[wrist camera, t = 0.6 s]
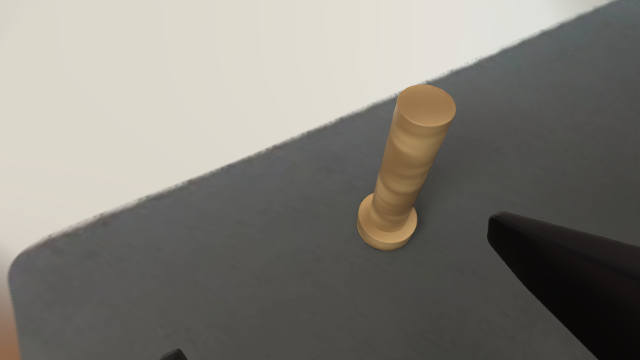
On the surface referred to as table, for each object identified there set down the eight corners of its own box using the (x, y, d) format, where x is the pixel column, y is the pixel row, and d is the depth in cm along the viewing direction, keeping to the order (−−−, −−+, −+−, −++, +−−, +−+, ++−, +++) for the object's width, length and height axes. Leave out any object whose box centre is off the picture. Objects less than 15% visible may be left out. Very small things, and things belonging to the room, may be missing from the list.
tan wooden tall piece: (424, 225, 28) (492, 106, 17) (387, 262, 26) (435, 156, 15) (382, 190, 29) (419, 61, 19) (344, 222, 28) (361, 102, 17)
